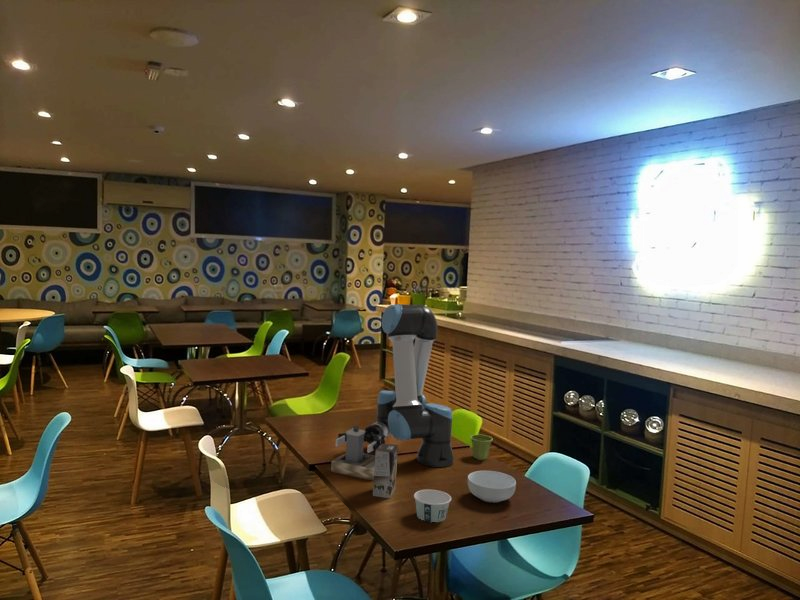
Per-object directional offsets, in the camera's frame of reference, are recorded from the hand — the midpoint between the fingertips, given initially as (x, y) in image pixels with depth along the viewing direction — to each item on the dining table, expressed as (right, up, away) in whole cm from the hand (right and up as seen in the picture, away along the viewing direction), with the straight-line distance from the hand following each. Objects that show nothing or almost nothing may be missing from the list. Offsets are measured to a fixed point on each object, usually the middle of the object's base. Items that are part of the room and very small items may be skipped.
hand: (352, 446), depth 227 cm
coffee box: (+13, -12, -19) cm, 26 cm away
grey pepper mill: (0, -9, +3) cm, 9 cm away
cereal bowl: (+50, -14, -19) cm, 55 cm away
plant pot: (+52, -11, +26) cm, 59 cm away
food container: (+28, -14, -37) cm, 48 cm away
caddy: (+3, -10, +2) cm, 10 cm away
